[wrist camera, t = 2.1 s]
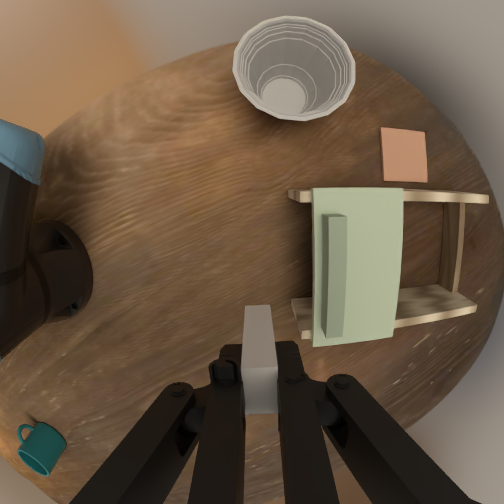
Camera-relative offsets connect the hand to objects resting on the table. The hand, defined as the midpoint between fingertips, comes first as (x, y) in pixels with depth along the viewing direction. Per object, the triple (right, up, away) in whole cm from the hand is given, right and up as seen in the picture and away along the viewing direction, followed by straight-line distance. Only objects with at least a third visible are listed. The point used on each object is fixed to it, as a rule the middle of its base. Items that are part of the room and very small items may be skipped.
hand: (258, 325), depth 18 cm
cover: (+10, +3, +10) cm, 14 cm away
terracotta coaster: (+20, +17, +16) cm, 31 cm away
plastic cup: (+3, +23, +15) cm, 28 cm away
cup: (-49, -38, +29) cm, 69 cm away
